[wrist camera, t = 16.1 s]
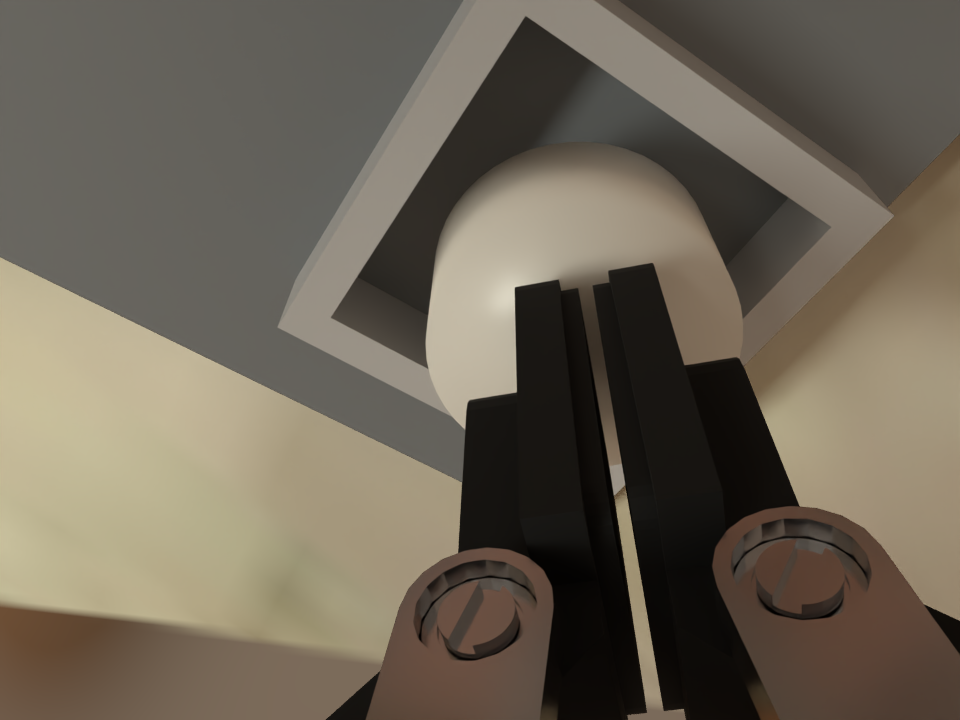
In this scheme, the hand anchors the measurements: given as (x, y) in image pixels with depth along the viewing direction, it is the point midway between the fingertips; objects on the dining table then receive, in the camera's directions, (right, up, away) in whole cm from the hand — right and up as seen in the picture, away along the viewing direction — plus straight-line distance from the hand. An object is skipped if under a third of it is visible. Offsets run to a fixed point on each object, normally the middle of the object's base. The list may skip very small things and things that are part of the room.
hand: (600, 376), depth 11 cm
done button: (0, +1, +2) cm, 2 cm away
